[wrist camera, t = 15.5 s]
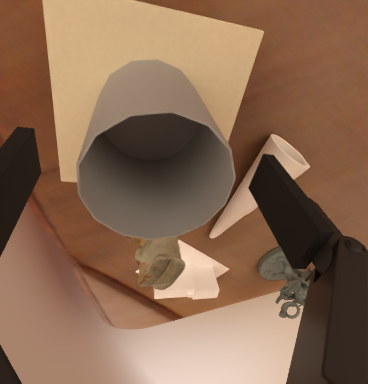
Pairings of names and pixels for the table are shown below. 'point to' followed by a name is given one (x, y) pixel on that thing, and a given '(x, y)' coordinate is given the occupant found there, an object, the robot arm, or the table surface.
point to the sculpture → (158, 262)
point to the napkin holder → (194, 276)
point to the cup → (153, 155)
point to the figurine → (280, 269)
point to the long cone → (242, 197)
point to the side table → (139, 50)
